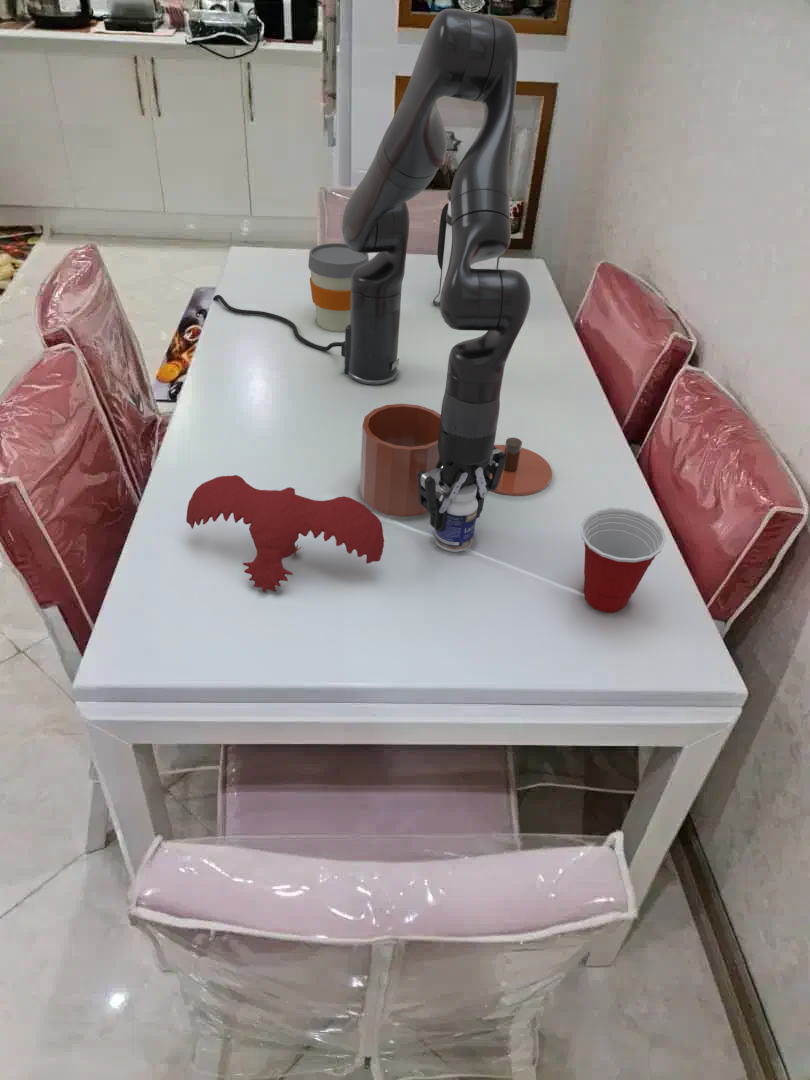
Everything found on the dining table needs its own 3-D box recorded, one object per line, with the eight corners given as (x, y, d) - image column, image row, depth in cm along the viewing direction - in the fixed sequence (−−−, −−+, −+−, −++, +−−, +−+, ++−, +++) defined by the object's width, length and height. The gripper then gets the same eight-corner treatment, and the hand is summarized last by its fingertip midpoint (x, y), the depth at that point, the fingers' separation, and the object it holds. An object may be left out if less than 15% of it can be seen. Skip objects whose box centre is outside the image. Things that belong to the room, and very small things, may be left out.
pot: (345, 501, 125) (346, 431, 117) (386, 462, 134) (390, 395, 126) (418, 529, 120) (425, 459, 113) (455, 487, 129) (464, 420, 122)
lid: (452, 480, 131) (456, 447, 127) (487, 442, 141) (491, 410, 137) (532, 508, 126) (539, 476, 122) (562, 467, 136) (569, 435, 132)
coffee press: (505, 301, 190) (525, 165, 171) (488, 327, 178) (507, 184, 159) (434, 288, 194) (447, 153, 175) (413, 312, 182) (424, 170, 163)
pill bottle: (469, 556, 116) (477, 500, 110) (430, 549, 117) (436, 493, 111) (474, 532, 121) (483, 477, 114) (437, 526, 121) (443, 470, 115)
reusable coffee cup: (378, 321, 177) (381, 252, 167) (344, 340, 168) (346, 269, 159) (331, 305, 182) (332, 238, 172) (296, 323, 173) (295, 254, 164)
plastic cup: (555, 572, 115) (572, 505, 107) (629, 572, 116) (650, 505, 108) (574, 627, 106) (593, 558, 99) (653, 626, 108) (678, 557, 100)
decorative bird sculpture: (373, 614, 112) (395, 508, 113) (362, 614, 103) (386, 499, 104) (182, 574, 116) (205, 472, 117) (155, 571, 107) (180, 460, 108)
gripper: (493, 395, 112) (478, 494, 122) (407, 421, 105) (399, 523, 116) (528, 420, 107) (510, 520, 118) (441, 448, 100) (430, 552, 111)
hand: (455, 521), depth 117 cm, fingers closed on pill bottle, 5 cm apart
